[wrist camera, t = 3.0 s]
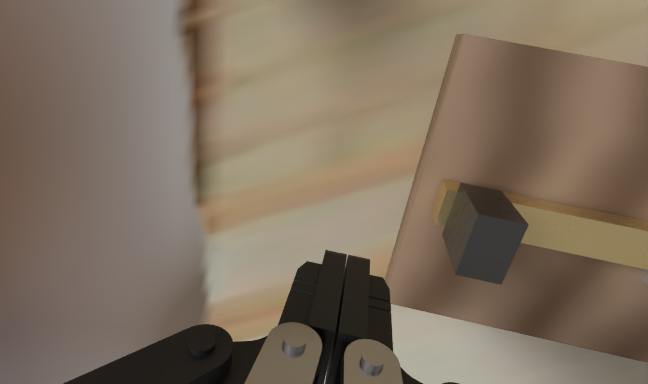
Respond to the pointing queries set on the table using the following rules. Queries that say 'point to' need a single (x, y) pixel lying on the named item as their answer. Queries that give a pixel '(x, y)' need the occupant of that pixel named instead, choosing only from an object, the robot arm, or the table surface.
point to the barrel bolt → (528, 230)
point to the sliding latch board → (533, 191)
